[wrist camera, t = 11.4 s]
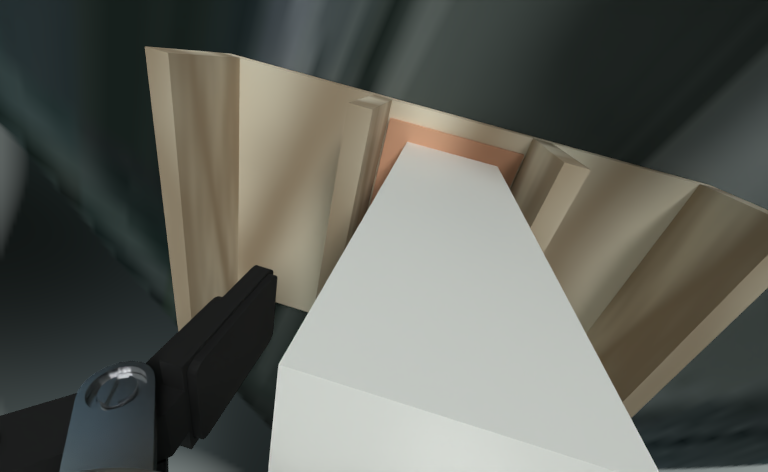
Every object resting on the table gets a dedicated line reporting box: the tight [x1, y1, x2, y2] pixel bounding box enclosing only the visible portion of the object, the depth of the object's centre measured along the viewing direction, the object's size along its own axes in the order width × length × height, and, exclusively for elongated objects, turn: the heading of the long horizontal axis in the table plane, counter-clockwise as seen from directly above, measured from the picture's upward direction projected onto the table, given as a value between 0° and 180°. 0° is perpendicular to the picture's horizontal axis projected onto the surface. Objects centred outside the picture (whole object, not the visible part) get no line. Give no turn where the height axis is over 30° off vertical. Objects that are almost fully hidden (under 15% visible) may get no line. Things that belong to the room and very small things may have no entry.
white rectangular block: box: [268, 142, 659, 472], centre depth 11 cm, size 4×10×12 cm, turn 167°
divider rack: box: [145, 47, 768, 418], centre depth 15 cm, size 21×14×5 cm, turn 76°
